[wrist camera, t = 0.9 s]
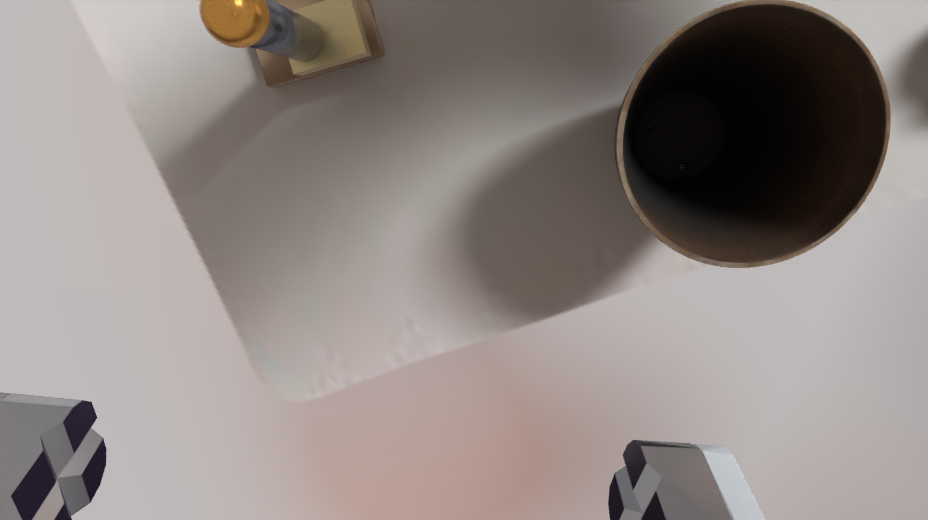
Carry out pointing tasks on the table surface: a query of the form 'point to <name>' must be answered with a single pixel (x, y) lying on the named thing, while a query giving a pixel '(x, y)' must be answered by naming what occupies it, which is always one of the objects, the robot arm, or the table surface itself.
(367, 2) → the wooden peg board
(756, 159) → the plant pot
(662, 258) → the table surface
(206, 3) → the sliding leg
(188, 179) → the table surface
